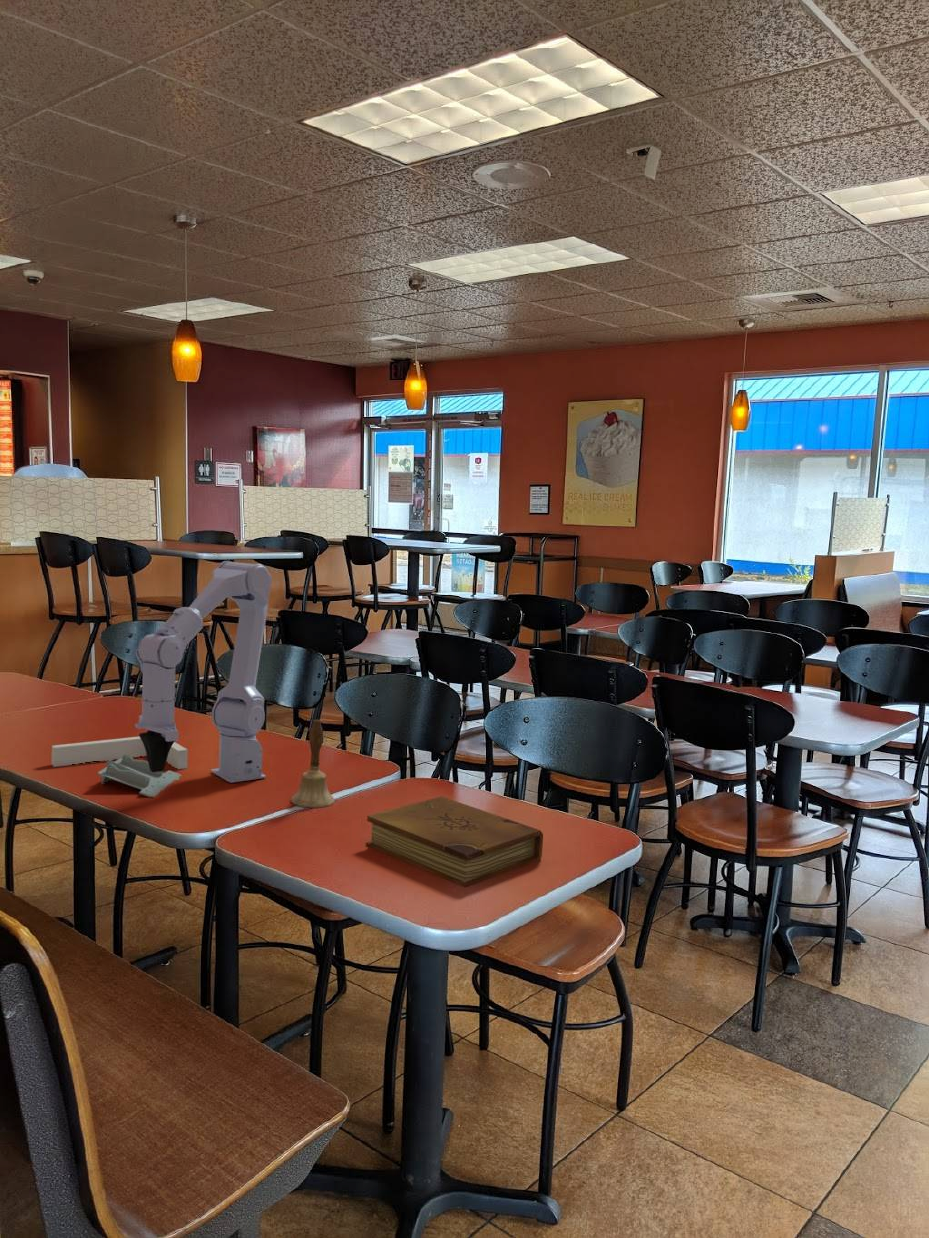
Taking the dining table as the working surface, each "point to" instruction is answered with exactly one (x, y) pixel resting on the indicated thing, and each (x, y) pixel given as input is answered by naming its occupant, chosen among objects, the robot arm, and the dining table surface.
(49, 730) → the dining table surface
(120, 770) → the metal bracket
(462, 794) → the dining table surface
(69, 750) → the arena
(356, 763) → the dining table surface
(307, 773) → the hand bell
